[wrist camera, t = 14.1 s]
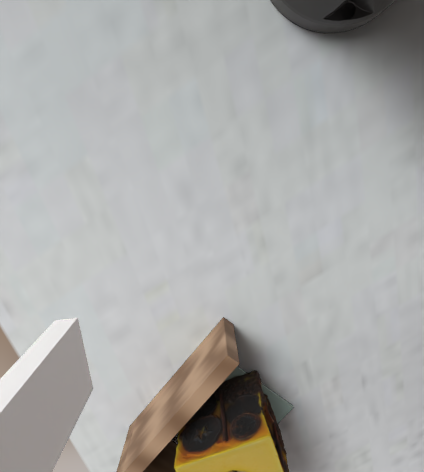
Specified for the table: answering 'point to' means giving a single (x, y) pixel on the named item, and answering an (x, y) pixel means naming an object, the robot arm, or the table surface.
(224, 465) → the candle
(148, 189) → the table surface
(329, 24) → the robot arm
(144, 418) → the corner walls
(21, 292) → the table surface
